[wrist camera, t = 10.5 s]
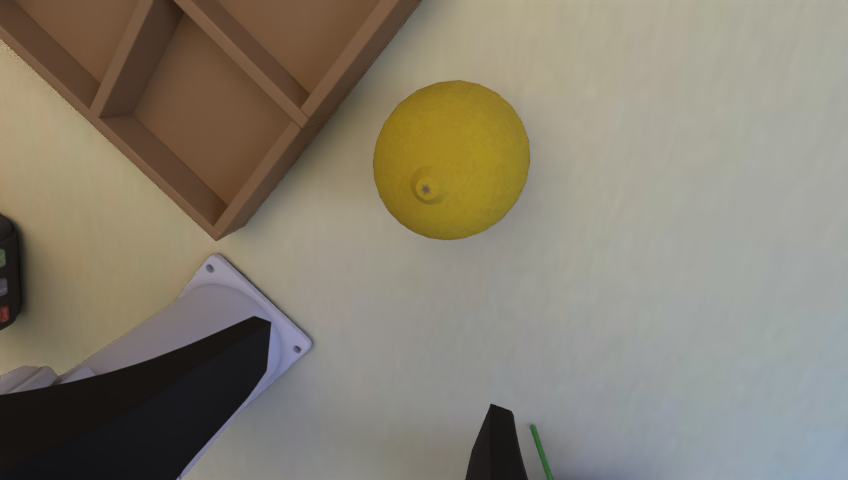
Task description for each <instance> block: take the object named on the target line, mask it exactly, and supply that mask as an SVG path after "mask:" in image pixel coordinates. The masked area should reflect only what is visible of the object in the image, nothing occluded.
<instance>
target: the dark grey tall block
mask: <svg viewBox="0 0 848 480" xmlns="http://www.w3.org/2000/svg"><path fill="white" fill-rule="evenodd" d="M19 313H20V291H19V272H18V252H17V233H16V231H15V230H13V229H12V228H11V223H10V221H9V220H8V219H6V218H4V217H2V216H0V330H2V329H4V328H6V327H7V326H9V325H11V324H12V323H13V322H14V321H15V319H16V317H17V316H18V314H19Z"/></svg>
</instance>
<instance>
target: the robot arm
mask: <svg viewBox="0 0 848 480" xmlns="http://www.w3.org/2000/svg"><path fill="white" fill-rule="evenodd" d="M211 266H212V267H213V268H214V269H213V268H212V267H211ZM297 346H298V347H299V348H300V349H299V348H298V347H297ZM311 346H312V342H311V340H310V339H309V338H308V337H307V336H306V335H305V334H304V333H303V332H302V331H301V330H300V329H299V328H298V327H297V326H296V325H295V324H294V323H292V322H291V321H290V320H289V319H288V318H287V317H286V316H285V315H284V314H283V313H282V312H281V311H280V310H279V309H278V308H276V307H275V306H274V305H273V304H272V303H271V302H270V301H269V300H268V299H267V298H266V297H265V296H264V295H263V294H262V293H260V292H259V291H258V290H257V289H256V288H255V287H254V286H253V285H252V284H251V283H250V282H249V281H248V280H247V279H246V278H244V277H243V276H242V275H241V274H240V273H239V272H238V271H237V270H236V269H235V268H234V267H233V266H232V265H231V264H230V263H228V262H227V261H226V260H225V259H224V258H223V257H222V256H221V255H219V254H216V253H215V254H212V255H210V256H209V257H208V258H207V259H206V260H205V262H204V263H203V264H202V266H201V267H200V268H199V270H198V271H197V272H196V273H195V275H194V276H193V277H192V279H191V280H190V281H189V283H188V284H187V285H186V287H185V288H184V289H183V290H182V292H181V293H180V294H179V296H178V297H177V298H176V300H175V301H174V302H173V303H172V304H170V305H169V306H167V307H166V308H164V309H162V310H161V311H159V312H158V313H156V314H155V315H153V316H152V317H150V318H149V319H147V320H146V321H144V322H143V323H141V324H140V325H138V326H136V327H135V328H133V329H132V330H130V331H129V332H127V333H126V334H124V335H123V336H121V337H120V338H118V339H117V340H115V341H114V342H112V343H110V344H109V345H107V346H106V347H104V348H103V349H101V350H100V351H98V352H97V353H95V354H94V355H92V356H91V357H89V358H88V359H86V360H84V361H83V362H81V363H80V364H78V365H77V366H75V367H74V368H72V369H71V370H69V371H68V372H66V373H65V374H62V375H60V376H58V375H57V374H56V373H55V372H54V370H53V369H52V368H51V367H50V366H43V367H40V368H39V367H35V366H22V367H19V368H17V369H15V370H12V371H10V372H8V373H6V374H4V375H2V376H0V480H181V479H182V478H183V477H184V476H185V475H186V474H187V472H188V471H189V470H190V469H191V468H192V467H193V465H194V464H195V463H196V462H197V461H198V460H199V459H200V457H201V456H202V455H203V454H204V453H205V452H206V450H207V449H208V448H209V447H210V446H211V445H212V444H213V442H214V441H215V440H216V439H217V438H218V437H219V435H220V434H221V433H222V432H223V431H224V430H225V429H226V427H227V426H228V425H229V424H230V423H231V422H232V420H233V419H234V418H235V417H236V416H237V415H238V413H239V412H240V411H241V410H242V409H243V408H245V407H246V406H247V405H248V404H249V403H250V402H251V401H252V400H253V399H255V398H256V397H257V396H258V395H259V394H260V393H261V392H262V391H263V390H265V389H266V388H267V387H268V386H269V385H270V384H271V383H272V382H273V381H275V380H276V379H277V378H278V377H279V376H280V375H281V374H282V373H283V372H285V371H286V370H287V369H288V368H289V367H290V366H291V365H292V364H294V363H295V362H296V361H297V360H298V359H299V358H300V357H301V356H302V355H304V354H305V353H306V352H307V351H308V350H309V349H310V347H311ZM465 480H528V478H527V475H526V471H525V467H524V464H523V460H522V456H521V452H520V447H519V443H518V438H517V433H516V428H515V422H514V415H513V413H512V411H510V410H507V409H504V408H502V407H499V406H496V405H494V404H491V405H490V407H489V410H488V412H487V415H486V417H485V420H484V422H483V425H482V427H481V430H480V432H479V435H478V437H477V439H476V442H475V444H474V447H473V449H472V453H471V457H470V461H469V466H468V470H467V475H466V479H465Z"/></svg>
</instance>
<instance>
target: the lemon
mask: <svg viewBox="0 0 848 480" xmlns="http://www.w3.org/2000/svg"><path fill="white" fill-rule="evenodd" d="M529 164H530V154H529V140H528V137H527V135H526V132H525V129H524V126H523V123H522V121H521V119H520V118H519V116H518V115H517V113H516V112H515V110H514V109H513V107H512V106H511V105H510V104H509V103H508V102H507V101H506V100H504V99H503V98H502V97H501V96H500V95H499V94H497V93H496V92H494V91H492V90H490V89H488V88H486V87H484V86H482V85H479V84H476V83H470V82H465V81H449V82H438V83H435V84H432V85H430V86H427V87H425V88H422V89H419V90H417V91H416V92H414V93H413V94H412V95H410V96H409V97H408V98H406V99H405V100H403V101H402V102H401V103H400V104H399V105H398V106H397V107H396V109H395V110H394V111H393V112H392V114H391V115H390V116H389V117H388V119H387V120H386V121H385V123H384V126H383V128H382V130H381V132H380V135H379V137H378V139H377V142H376V147H375V153H374V159H373V166H374V178H375V183H376V186H377V189H378V192H379V195H380V198H381V199H382V201H383V203H384V204H385V206H386V208H387V209H388V211H389V212H390V213H391V214H392V215H393V216H394V217H395V218H396V219H397V220H398V221H399V222H400V223H401V224H402V225H404V226H405V227H407V228H408V229H410V230H411V231H413V232H415V233H417V234H420V235H423V236H425V237H428V238H434V239H442V240H453V239H462V238H467V237H469V236H472V235H475V234H477V233H480V232H483V231H485V230H486V229H488V228H489V227H491V226H492V225H494V224H495V223H496V222H498V221H499V220H501V219H502V218H503V217H504V216H505V215H506V213H507V212H508V211H509V210H510V209H511V208H512V206H513V205H514V204H515V203H516V201H517V200H518V198H519V196H520V193H521V191H522V189H523V187H524V185H525V183H526V180H527V175H528V169H529Z"/></svg>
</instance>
